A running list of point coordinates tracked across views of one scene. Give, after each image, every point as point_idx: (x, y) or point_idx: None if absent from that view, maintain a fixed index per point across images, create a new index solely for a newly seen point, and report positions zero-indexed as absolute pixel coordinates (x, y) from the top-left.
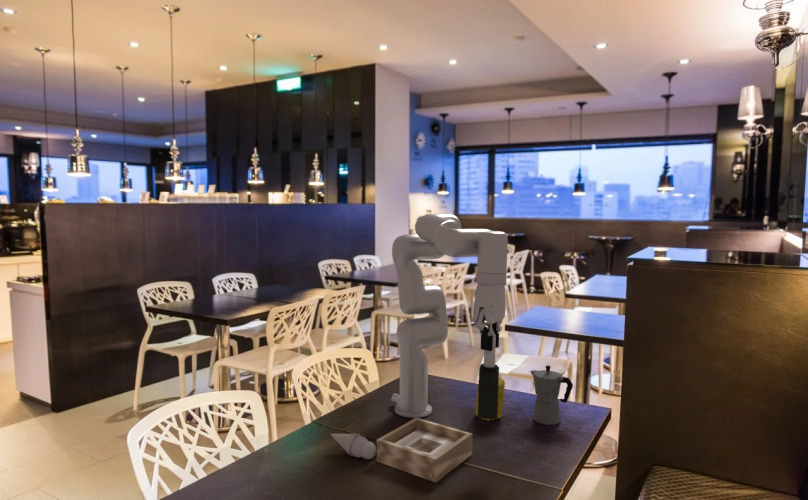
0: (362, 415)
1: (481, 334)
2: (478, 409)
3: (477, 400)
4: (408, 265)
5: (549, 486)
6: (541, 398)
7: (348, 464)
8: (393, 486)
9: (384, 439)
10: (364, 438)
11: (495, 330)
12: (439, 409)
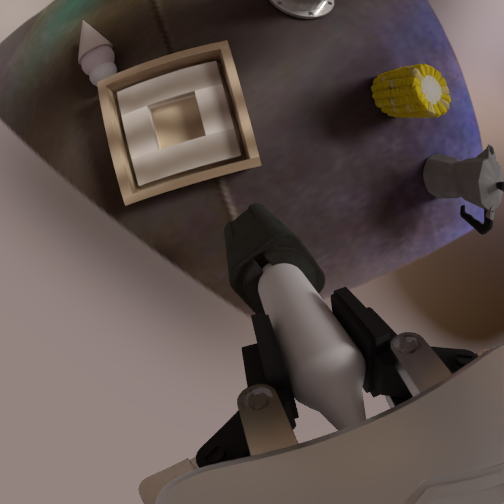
0: None
1: (244, 398)
2: (225, 231)
3: (388, 76)
4: None
5: None
6: (453, 177)
7: (77, 81)
8: (84, 172)
9: (110, 84)
10: (97, 59)
11: (382, 393)
12: (342, 20)
